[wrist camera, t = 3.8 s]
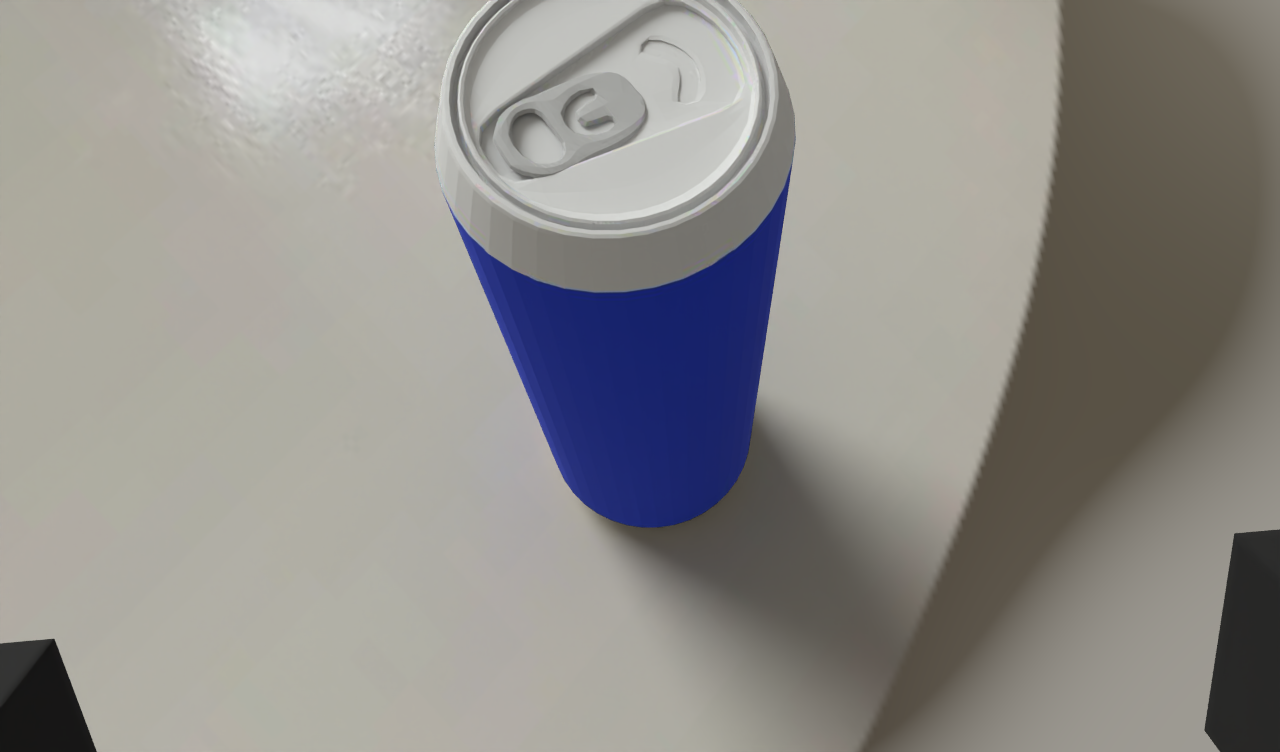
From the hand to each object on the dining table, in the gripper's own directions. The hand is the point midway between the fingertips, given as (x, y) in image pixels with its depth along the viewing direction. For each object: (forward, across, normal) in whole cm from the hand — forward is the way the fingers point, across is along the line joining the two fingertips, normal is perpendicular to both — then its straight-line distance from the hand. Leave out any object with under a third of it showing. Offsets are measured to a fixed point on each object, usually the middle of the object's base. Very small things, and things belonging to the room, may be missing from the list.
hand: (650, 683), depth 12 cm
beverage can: (+16, 0, -5) cm, 16 cm away
